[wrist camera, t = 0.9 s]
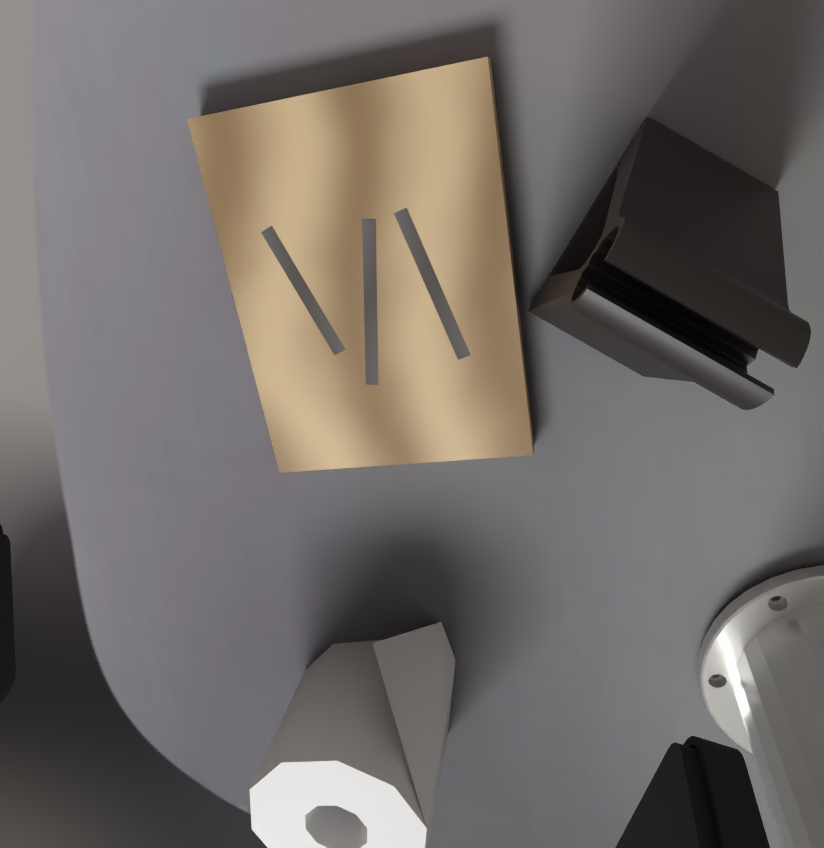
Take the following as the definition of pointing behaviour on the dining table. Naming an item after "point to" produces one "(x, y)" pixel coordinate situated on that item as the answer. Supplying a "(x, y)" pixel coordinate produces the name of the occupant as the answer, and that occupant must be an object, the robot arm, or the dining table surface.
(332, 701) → the toilet tissue
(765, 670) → the robot arm
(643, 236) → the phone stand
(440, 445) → the marked board
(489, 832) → the dining table surface
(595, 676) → the dining table surface
